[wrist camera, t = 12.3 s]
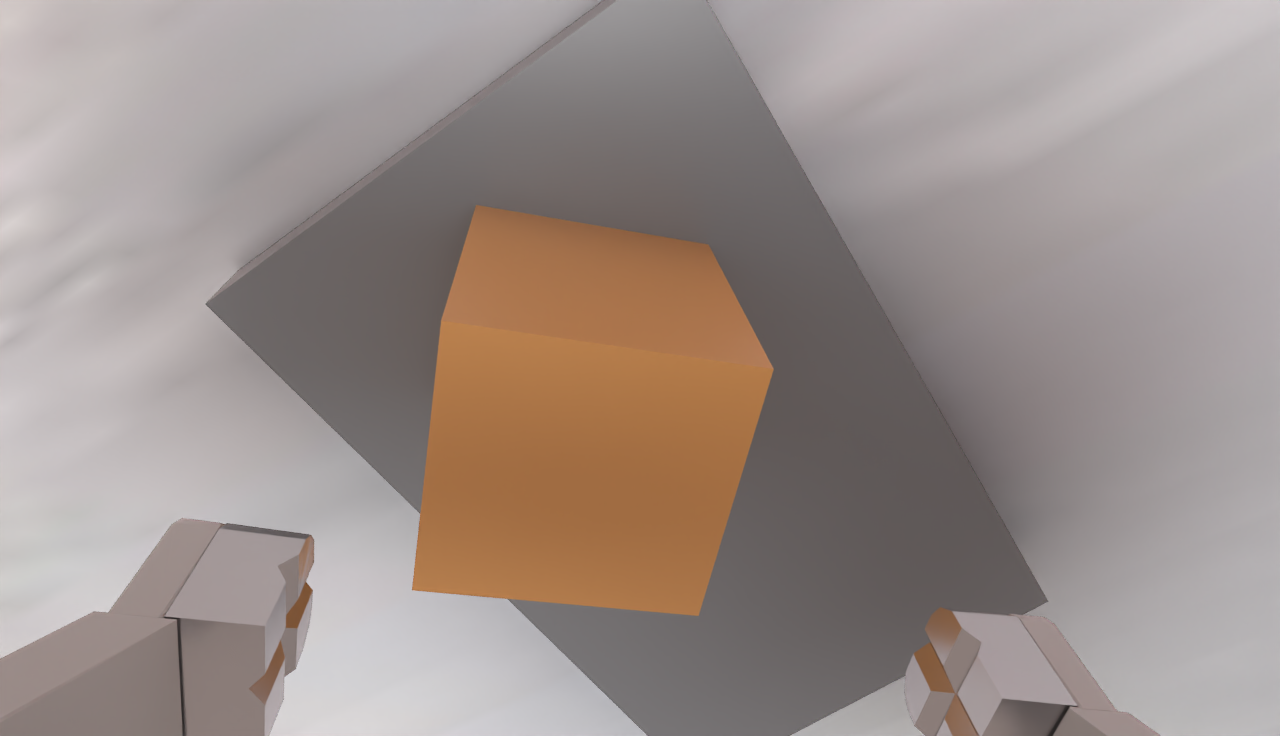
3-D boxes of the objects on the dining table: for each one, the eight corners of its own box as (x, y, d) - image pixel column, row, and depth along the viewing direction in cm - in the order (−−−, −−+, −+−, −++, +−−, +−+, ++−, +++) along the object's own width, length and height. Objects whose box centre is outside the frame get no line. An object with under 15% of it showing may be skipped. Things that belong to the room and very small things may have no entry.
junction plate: (1013, 556, 26) (1161, 751, 19) (687, 730, 28) (726, 955, 22) (667, -47, 17) (732, -44, 11) (237, 271, 19) (87, 424, 13)
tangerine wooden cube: (708, 244, 18) (773, 368, 13) (659, 439, 20) (698, 616, 15) (476, 205, 17) (441, 320, 12) (451, 412, 19) (412, 590, 14)
